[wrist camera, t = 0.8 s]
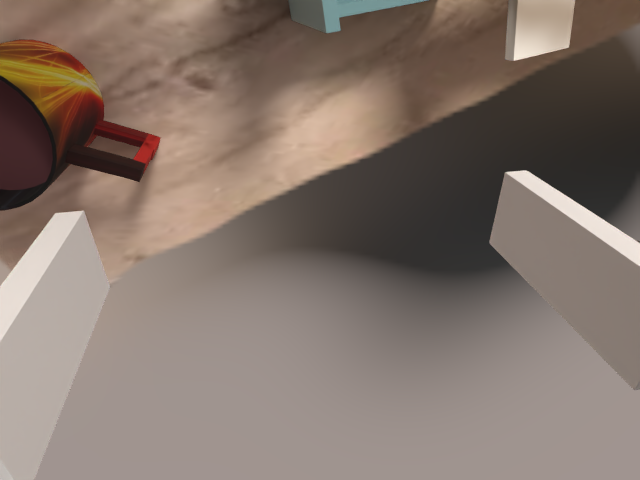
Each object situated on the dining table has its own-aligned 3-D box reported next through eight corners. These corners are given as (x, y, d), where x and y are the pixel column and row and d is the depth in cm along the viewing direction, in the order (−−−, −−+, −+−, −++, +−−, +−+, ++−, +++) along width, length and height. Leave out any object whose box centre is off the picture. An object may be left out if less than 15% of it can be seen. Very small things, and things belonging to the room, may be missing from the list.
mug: (164, 142, 40) (141, 192, 30) (8, 161, 39) (-73, 220, 28) (135, 29, 35) (95, 42, 25) (-45, 45, 34) (-166, 66, 24)
